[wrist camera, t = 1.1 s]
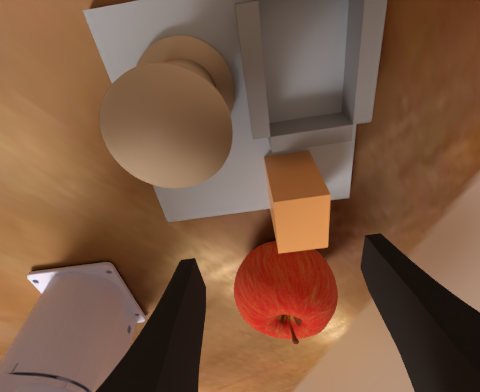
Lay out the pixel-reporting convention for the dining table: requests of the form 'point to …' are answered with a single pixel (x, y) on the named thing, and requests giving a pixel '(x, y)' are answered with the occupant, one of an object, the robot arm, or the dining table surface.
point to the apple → (285, 292)
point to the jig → (263, 84)
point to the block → (297, 202)
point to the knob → (171, 113)
